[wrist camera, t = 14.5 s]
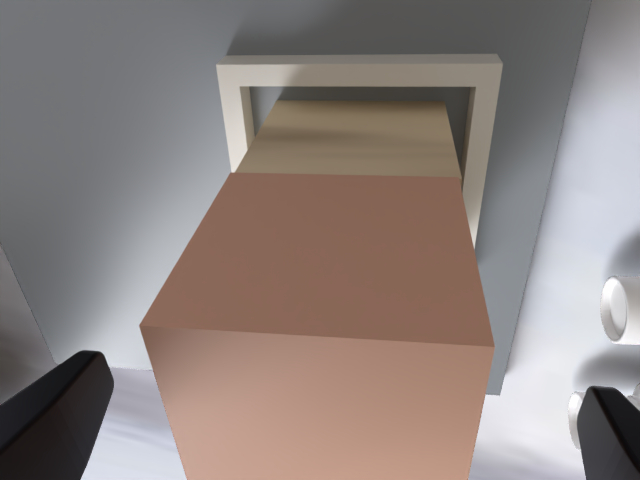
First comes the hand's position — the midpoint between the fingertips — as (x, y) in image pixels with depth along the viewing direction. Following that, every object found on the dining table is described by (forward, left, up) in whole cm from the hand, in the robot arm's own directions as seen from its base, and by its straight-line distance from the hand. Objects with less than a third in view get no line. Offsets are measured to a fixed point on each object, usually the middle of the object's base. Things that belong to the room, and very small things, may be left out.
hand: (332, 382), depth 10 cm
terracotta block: (0, 0, -4) cm, 4 cm away
